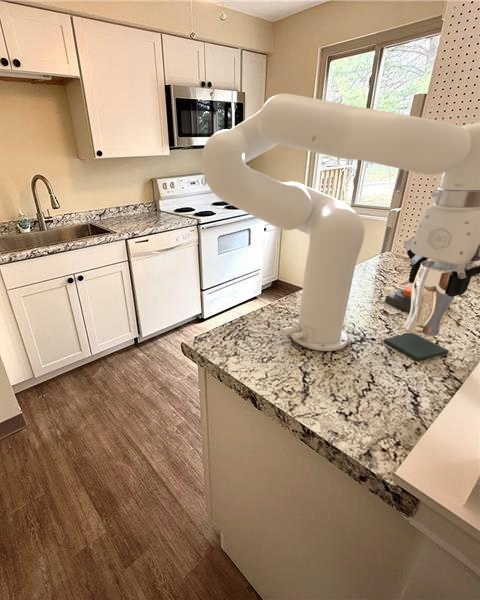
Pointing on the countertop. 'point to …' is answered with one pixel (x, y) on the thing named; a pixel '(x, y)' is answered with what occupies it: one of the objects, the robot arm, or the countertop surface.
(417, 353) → the mat
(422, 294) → the beer glass
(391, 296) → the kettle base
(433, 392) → the countertop surface
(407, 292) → the switch
